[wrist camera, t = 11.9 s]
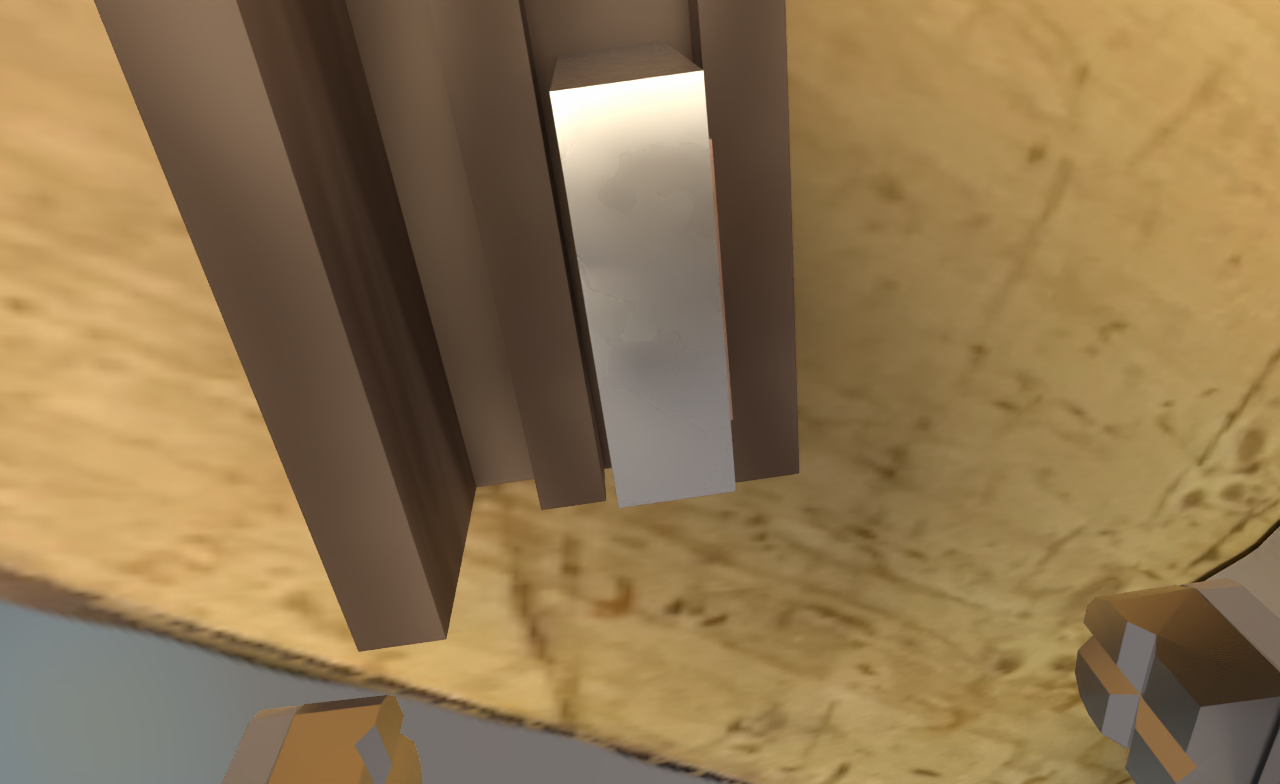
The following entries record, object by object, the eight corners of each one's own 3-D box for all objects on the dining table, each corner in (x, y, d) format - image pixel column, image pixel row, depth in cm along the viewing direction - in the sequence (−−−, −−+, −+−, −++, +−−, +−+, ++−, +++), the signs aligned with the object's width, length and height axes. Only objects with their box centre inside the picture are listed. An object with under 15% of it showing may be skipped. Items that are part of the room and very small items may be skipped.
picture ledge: (751, -134, 22) (852, -198, 14) (776, 422, 30) (847, 581, 22) (249, -65, 22) (57, -89, 14) (416, 473, 30) (358, 651, 22)
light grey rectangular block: (670, 39, 22) (713, 69, 15) (700, 355, 27) (743, 490, 20) (558, 55, 22) (549, 91, 15) (607, 368, 27) (618, 508, 20)
